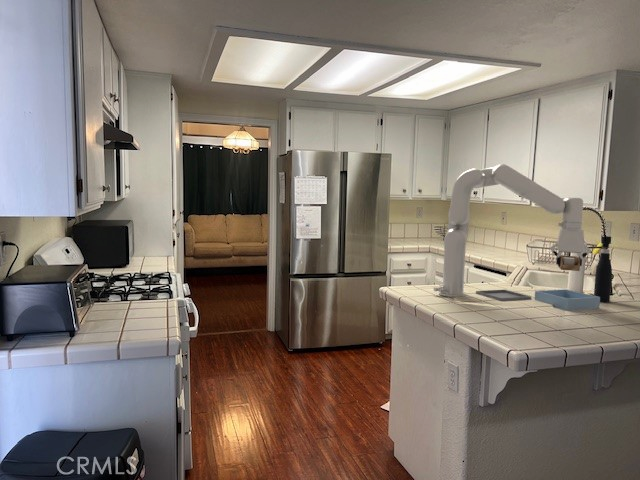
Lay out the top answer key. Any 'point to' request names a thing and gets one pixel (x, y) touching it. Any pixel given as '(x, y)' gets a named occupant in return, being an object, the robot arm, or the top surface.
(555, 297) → the bin
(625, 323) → the top surface
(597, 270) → the dark water bottle
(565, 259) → the stone
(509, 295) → the tray
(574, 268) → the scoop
